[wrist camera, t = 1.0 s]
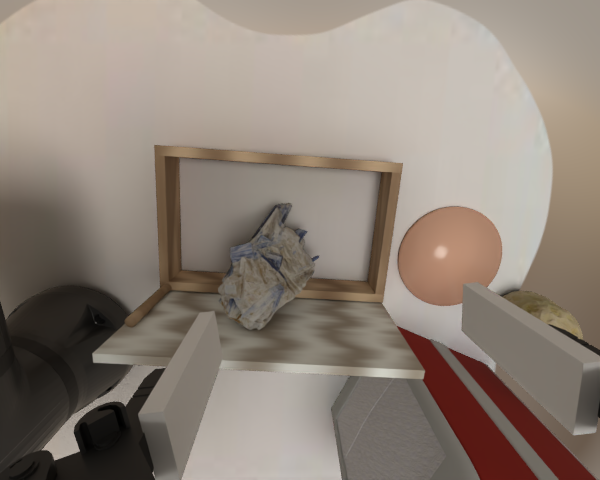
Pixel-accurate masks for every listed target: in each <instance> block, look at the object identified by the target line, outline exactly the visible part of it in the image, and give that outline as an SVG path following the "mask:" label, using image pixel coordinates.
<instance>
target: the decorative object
mask: <svg viewBox="0 0 600 480" xmlns="http://www.w3.org/2000/svg"><path fill="white" fill-rule="evenodd" d="M503 298H505V299H506V300H508V301H509V302H511V303H513V304H514V305H516V306H518V307H519V308H521V309H523V310H524V311H526V312H528V313H529V314H531V315H533V316H534V317H536V318H538V319H539V320H541V321H543V322H544V323H546V324H551V325H553V326H556V327H559V328H561V329H564V330H566V331H568V332H570V333H571V334H573V335H575V336H577V337H578V339H582V340H583V337H582V336H583V335H582V332H581V329H580V326H579V324H578V322H577V320H576V319H575V318H574V317H573V315H571V314H570V313H569V312H568V311H567V310H565V309H562V308H561V307H559V306H558V305H556V304H555V303H554V302H553V301H551V300H550V299H547V298H546V297H544V296H542V295H538V294H536V293H533V292H529V291H515V292H510V293H509V294H507V295H504V296H503Z"/></svg>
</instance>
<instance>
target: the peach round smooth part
mask: <svg viewBox="0 0 600 480" xmlns="http://www.w3.org/2000/svg"><path fill="white" fill-rule="evenodd" d="M501 258H502V242H501V238H500V235H499V233H498V230H497V229H496V227H495V226H494V224H493V223H492V222H491V221H490V220H489V219H488V218H487V217H486V216H484V215H483V214H481V213H479V212H477V211H475V210H472V209H468V208H464V207H445V208H441V209H437V210H435V211H432V212H430V213H428V214H426V215H425V216H423V217H422V218H420V219H419V220H418V221H417V222H416V223H414V224H413V226H412V227H411V228H410V229H409V230H408V232H407V233H406V235H405V237H404V239H403V240H402V243H401V246H400V249H399V254H398V268H399V273H400V276H401V279H402V280H403V282H404V284H405V285H406V287H407V288H408V289H409V290H410V291H411V292H412V294H413V295H415V296H416V297H417V298H419V299H421V300H422V301H424V302H427V303H429V304H433V305H439V306H450V305H456V304H460V303H463V284H466V283H475V282H478V283H480V284H481V285H483V286H485V287H487V286H488V285H489V284H490V283H491V282H492V280H493V279H494V277H495V275H496V274H497V271H498V269H499V266H500V263H501Z"/></svg>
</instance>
